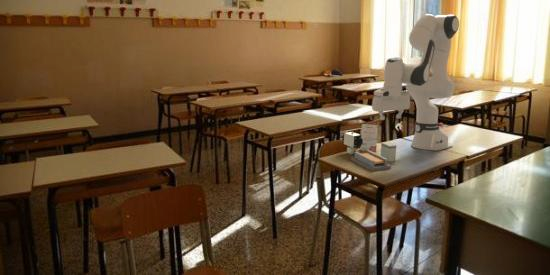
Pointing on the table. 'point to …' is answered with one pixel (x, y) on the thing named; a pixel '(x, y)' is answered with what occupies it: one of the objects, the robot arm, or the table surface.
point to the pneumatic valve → (352, 141)
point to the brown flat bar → (373, 158)
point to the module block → (388, 151)
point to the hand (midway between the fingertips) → (390, 119)
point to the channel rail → (370, 161)
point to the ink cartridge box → (369, 137)
